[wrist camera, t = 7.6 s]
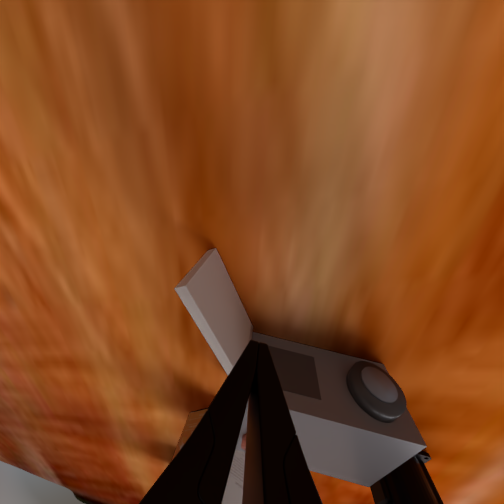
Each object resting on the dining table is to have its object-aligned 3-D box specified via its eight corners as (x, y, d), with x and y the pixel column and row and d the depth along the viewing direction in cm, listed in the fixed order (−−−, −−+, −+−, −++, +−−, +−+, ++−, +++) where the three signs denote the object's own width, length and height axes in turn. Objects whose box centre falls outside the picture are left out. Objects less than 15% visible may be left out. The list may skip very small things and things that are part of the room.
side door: (206, 250, 16) (172, 289, 11) (216, 247, 15) (186, 285, 10) (245, 330, 19) (233, 387, 14) (254, 329, 19) (245, 386, 14)
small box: (227, 401, 25) (182, 602, 14) (253, 424, 27) (233, 621, 15) (188, 411, 28) (122, 584, 16) (214, 432, 30) (171, 603, 18)
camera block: (391, 354, 18) (447, 449, 12) (347, 409, 22) (371, 497, 16) (250, 320, 18) (236, 393, 12) (236, 380, 23) (220, 454, 17)
